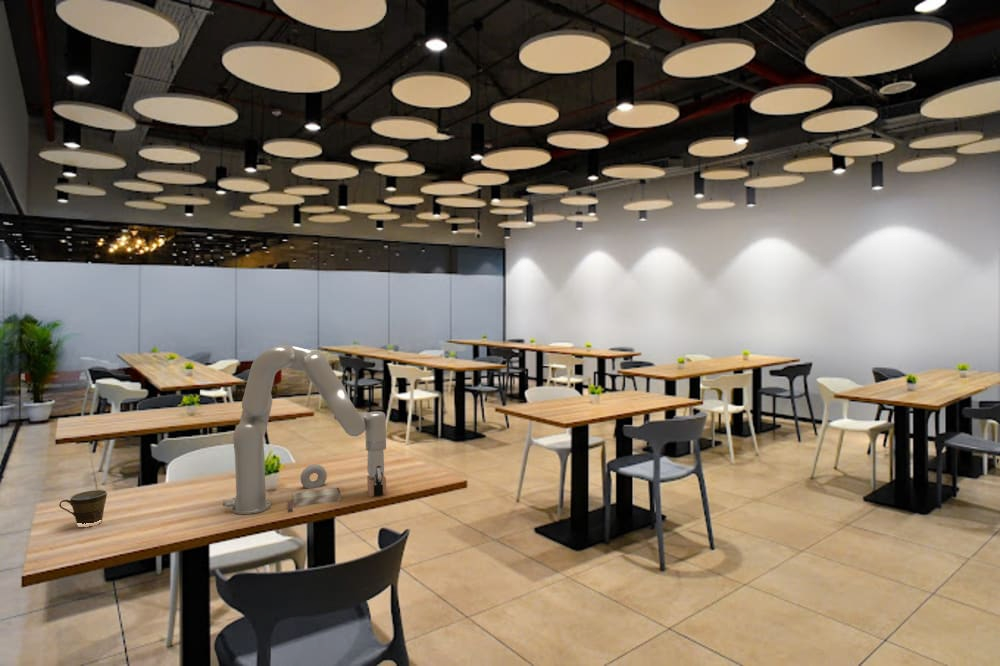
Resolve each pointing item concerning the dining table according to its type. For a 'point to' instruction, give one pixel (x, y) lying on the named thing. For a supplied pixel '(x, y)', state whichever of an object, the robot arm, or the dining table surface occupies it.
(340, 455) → the dining table surface
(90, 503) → the ceramic cup
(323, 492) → the board
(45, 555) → the dining table surface
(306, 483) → the donut
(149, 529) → the dining table surface
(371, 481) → the taped shipping carton
